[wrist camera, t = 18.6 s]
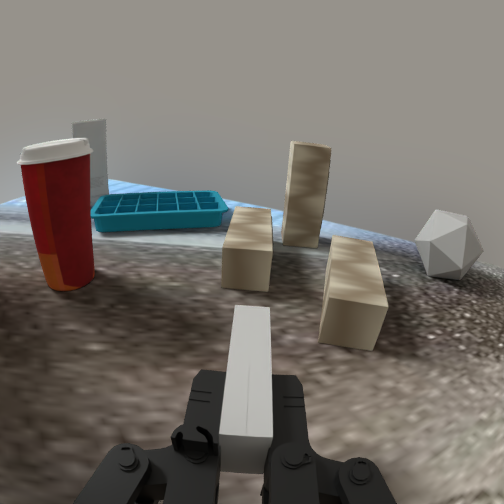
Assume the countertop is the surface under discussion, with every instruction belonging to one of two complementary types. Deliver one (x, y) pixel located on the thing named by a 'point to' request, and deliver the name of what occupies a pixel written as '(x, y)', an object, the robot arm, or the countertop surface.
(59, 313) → the countertop surface
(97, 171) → the skincare box
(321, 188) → the post
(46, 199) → the paper cup
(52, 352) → the countertop surface
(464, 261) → the die
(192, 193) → the ice cube tray
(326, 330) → the post
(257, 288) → the post
